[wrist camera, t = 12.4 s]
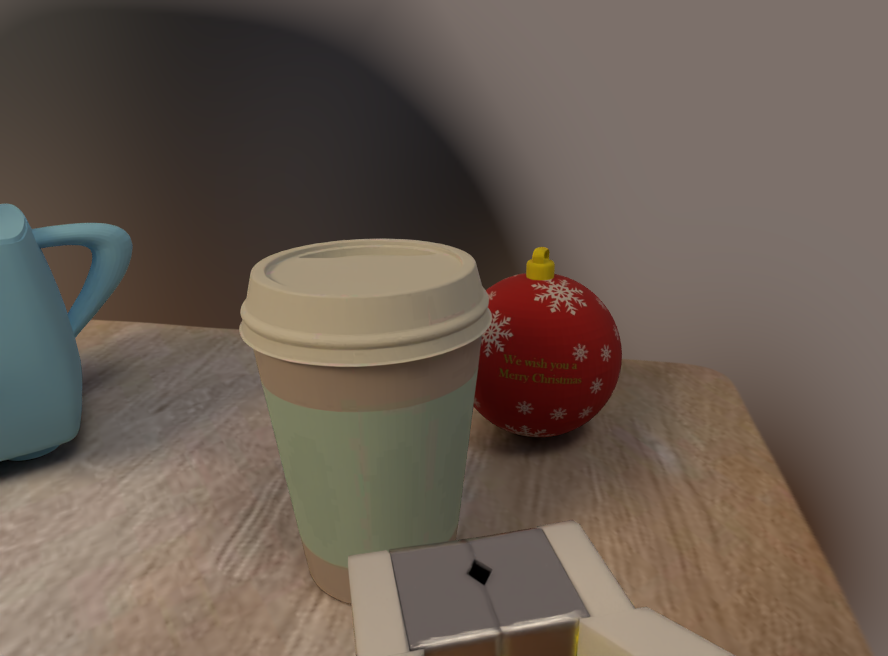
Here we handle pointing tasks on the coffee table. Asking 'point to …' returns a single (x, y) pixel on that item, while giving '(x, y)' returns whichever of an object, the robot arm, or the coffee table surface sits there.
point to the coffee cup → (368, 390)
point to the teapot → (47, 329)
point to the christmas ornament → (545, 353)
